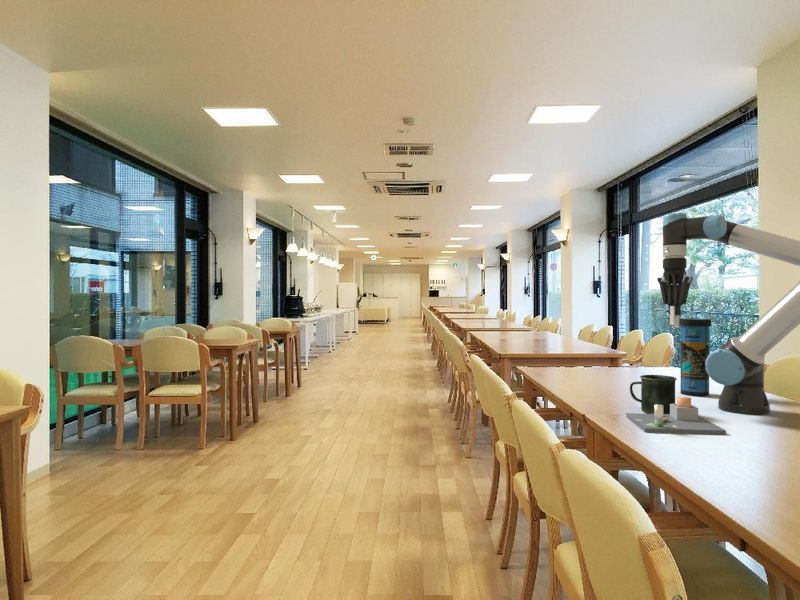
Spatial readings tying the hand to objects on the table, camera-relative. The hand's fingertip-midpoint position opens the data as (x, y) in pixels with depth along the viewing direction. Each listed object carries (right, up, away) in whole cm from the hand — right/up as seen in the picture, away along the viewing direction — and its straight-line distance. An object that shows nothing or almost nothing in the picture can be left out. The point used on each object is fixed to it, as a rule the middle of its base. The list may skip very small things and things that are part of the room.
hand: (674, 324), depth 194 cm
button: (-8, -27, -21) cm, 35 cm away
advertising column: (+21, -29, +25) cm, 44 cm away
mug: (-11, -30, -7) cm, 32 cm away
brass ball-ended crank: (-18, -28, -28) cm, 44 cm away
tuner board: (-13, -30, -26) cm, 42 cm away
